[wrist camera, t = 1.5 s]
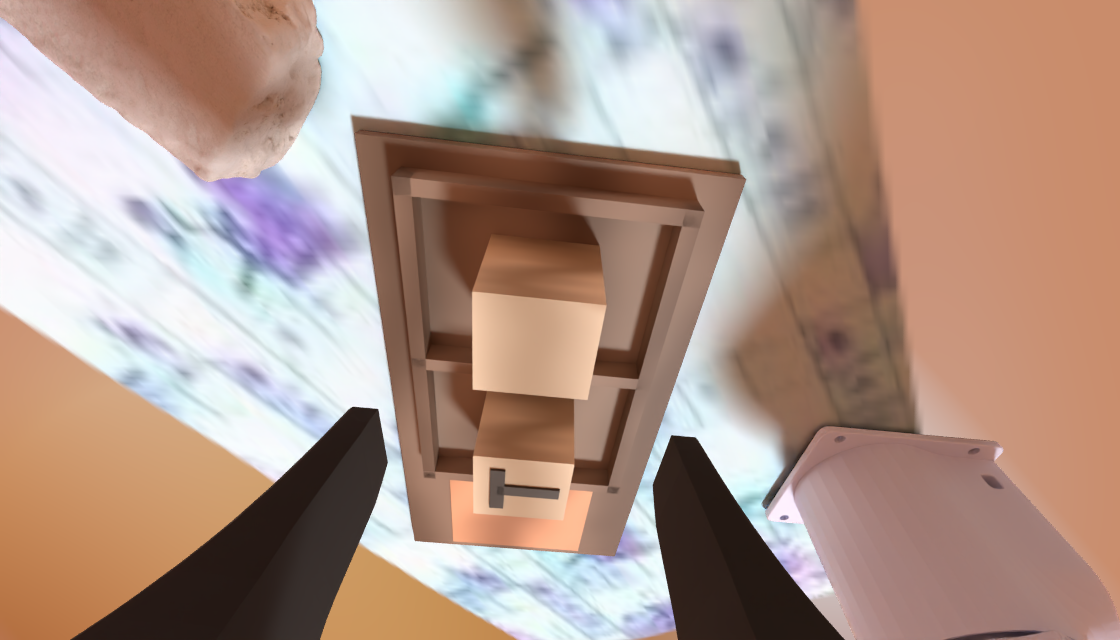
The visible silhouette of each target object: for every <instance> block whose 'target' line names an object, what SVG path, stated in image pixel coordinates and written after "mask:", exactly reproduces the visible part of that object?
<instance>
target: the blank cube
mask: <svg viewBox="0 0 1120 640" xmlns="http://www.w3.org/2000/svg"><path fill="white" fill-rule="evenodd" d="M606 306H607V304H606V295H605V287H604V278H603V269H602V261H601V252H600V246H598V245H589V244H580V243H570V242H561V241H552V240H543V239H533V238H524V237H515V236H506V235H496V234H492V235H491V238H490V240H489V243H488V246H487V249H486V252H485V255H484V258H483V261H482V264H481V267H480V270H479V273H478V276H477V279H476V282H475V284H474V287H473V290H472V359H473V390H483V391H494V392H505V393H516V394H527V395H538V396H548V397H559V398H570V399H581V400H588V395H589V390H590V385H591V380H592V375H593V370H594V365H595V360H596V356H597V351H598V346H599V341H600V336H601V331H602V326H603V321H604V316H605V311H606Z"/></svg>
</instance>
